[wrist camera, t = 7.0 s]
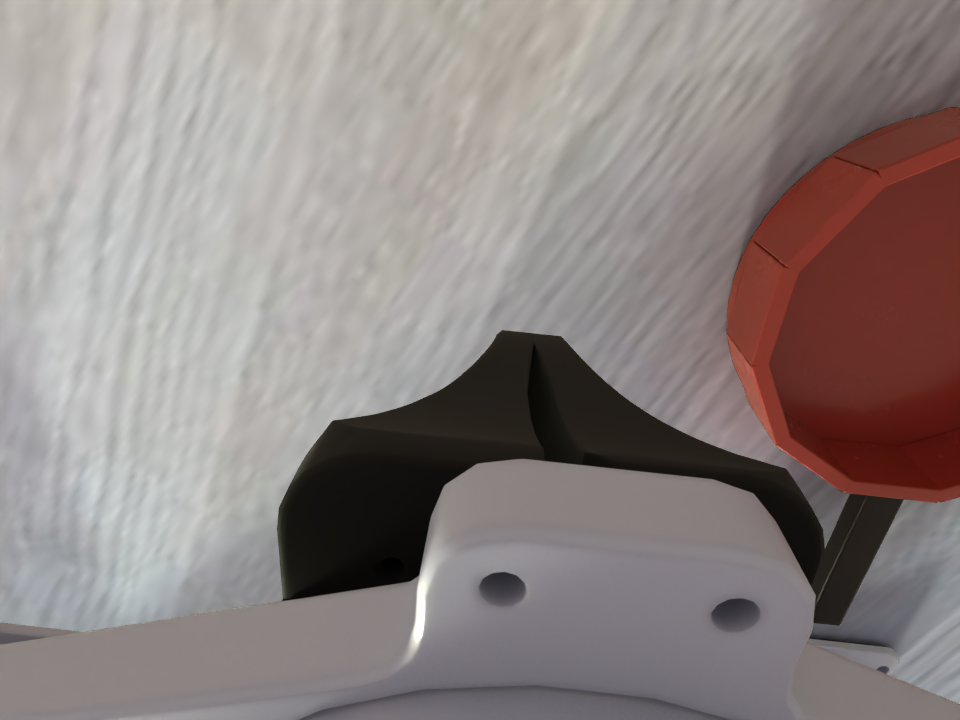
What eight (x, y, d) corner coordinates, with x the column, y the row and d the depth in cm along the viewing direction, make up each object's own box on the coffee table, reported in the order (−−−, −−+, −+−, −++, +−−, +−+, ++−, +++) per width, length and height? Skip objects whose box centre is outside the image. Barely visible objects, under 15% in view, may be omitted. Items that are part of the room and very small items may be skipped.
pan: (786, 90, 17) (836, 97, 14) (1192, 129, 17) (1320, 145, 14) (654, 551, 24) (670, 612, 22) (932, 581, 24) (982, 646, 22)
